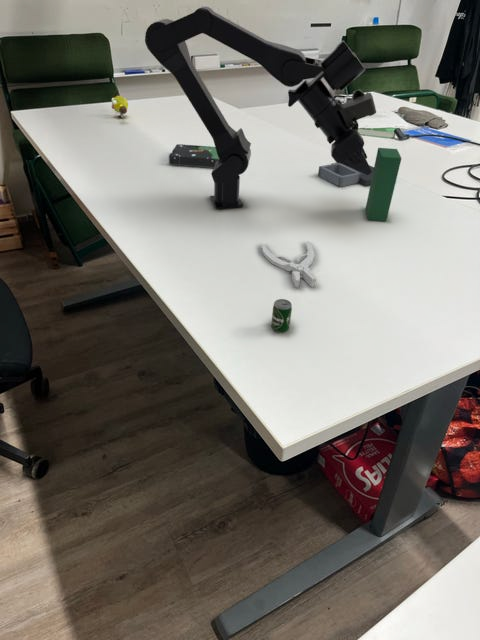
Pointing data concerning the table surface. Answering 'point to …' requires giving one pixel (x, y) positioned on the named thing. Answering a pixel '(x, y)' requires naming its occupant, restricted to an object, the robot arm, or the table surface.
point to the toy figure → (119, 105)
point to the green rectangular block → (382, 183)
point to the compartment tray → (344, 175)
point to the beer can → (281, 315)
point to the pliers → (294, 265)
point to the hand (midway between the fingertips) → (367, 166)
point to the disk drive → (193, 156)
